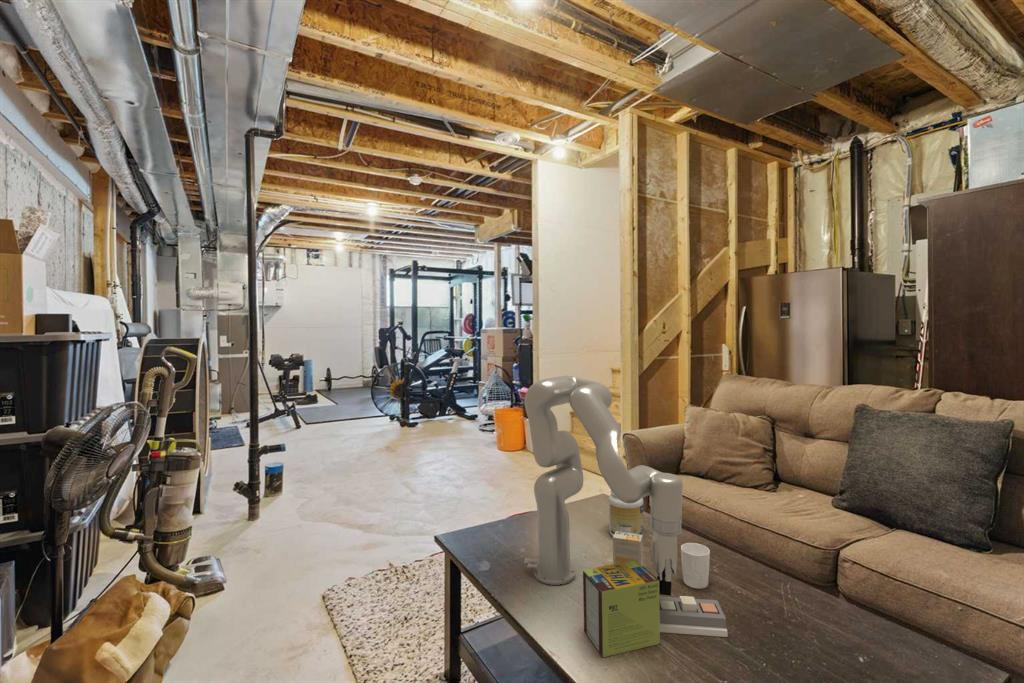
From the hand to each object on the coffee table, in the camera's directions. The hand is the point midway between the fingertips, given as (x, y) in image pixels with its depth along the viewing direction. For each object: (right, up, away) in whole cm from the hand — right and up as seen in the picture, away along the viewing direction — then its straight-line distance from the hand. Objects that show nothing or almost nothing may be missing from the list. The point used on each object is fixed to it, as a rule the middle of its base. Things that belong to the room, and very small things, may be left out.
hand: (663, 593), depth 121 cm
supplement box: (-4, -6, +20) cm, 21 cm away
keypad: (+6, -7, -1) cm, 9 cm away
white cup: (+15, -6, +17) cm, 23 cm away
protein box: (-12, -8, -6) cm, 16 cm away
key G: (+11, -5, -2) cm, 12 cm away
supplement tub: (+2, -5, +49) cm, 49 cm away
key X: (+6, -3, -1) cm, 7 cm away
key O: (+1, -5, 0) cm, 5 cm away
